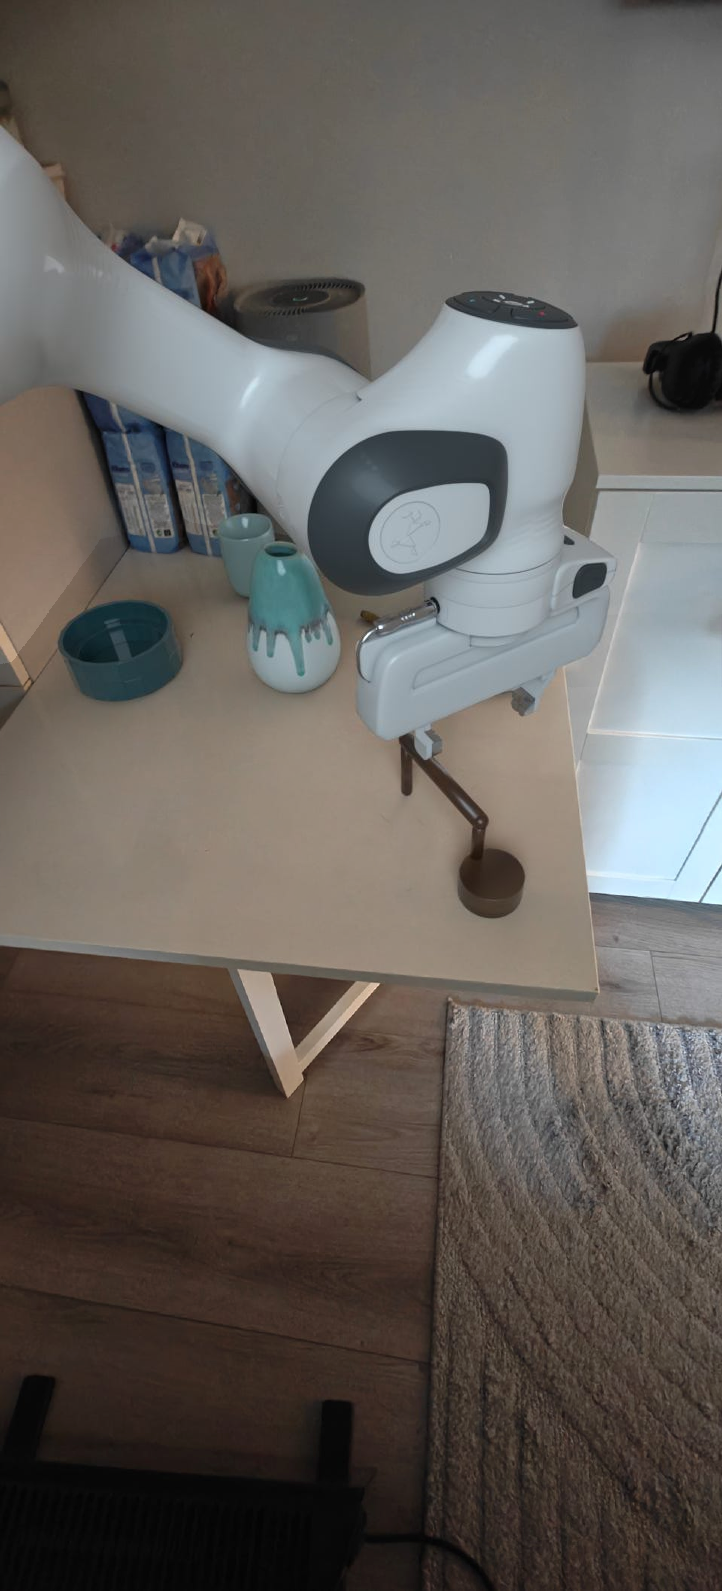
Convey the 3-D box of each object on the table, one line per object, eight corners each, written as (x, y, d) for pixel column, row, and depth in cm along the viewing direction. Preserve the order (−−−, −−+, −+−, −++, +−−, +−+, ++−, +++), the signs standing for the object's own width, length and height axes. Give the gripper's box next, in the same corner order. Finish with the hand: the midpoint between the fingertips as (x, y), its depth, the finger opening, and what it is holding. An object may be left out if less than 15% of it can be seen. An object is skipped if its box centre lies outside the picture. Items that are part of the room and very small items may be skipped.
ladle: (534, 900, 69) (547, 842, 62) (482, 929, 67) (489, 872, 60) (426, 778, 80) (427, 718, 74) (379, 800, 78) (376, 740, 72)
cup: (279, 604, 105) (269, 539, 98) (226, 605, 105) (212, 541, 98) (284, 575, 110) (275, 511, 103) (233, 577, 111) (220, 513, 103)
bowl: (131, 717, 90) (117, 678, 85) (51, 683, 95) (33, 645, 91) (204, 654, 98) (194, 616, 93) (126, 627, 103) (113, 589, 99)
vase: (331, 641, 98) (319, 514, 85) (353, 694, 90) (343, 563, 77) (246, 658, 97) (220, 531, 83) (261, 713, 89) (235, 583, 76)
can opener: (359, 618, 101) (359, 611, 100) (371, 611, 102) (371, 604, 101) (406, 644, 97) (406, 637, 96) (418, 637, 98) (418, 629, 97)
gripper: (379, 654, 44) (386, 806, 54) (637, 554, 50) (599, 707, 60) (331, 605, 48) (346, 755, 58) (576, 517, 54) (550, 667, 64)
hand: (477, 730), depth 59 cm, fingers open, 8 cm apart
